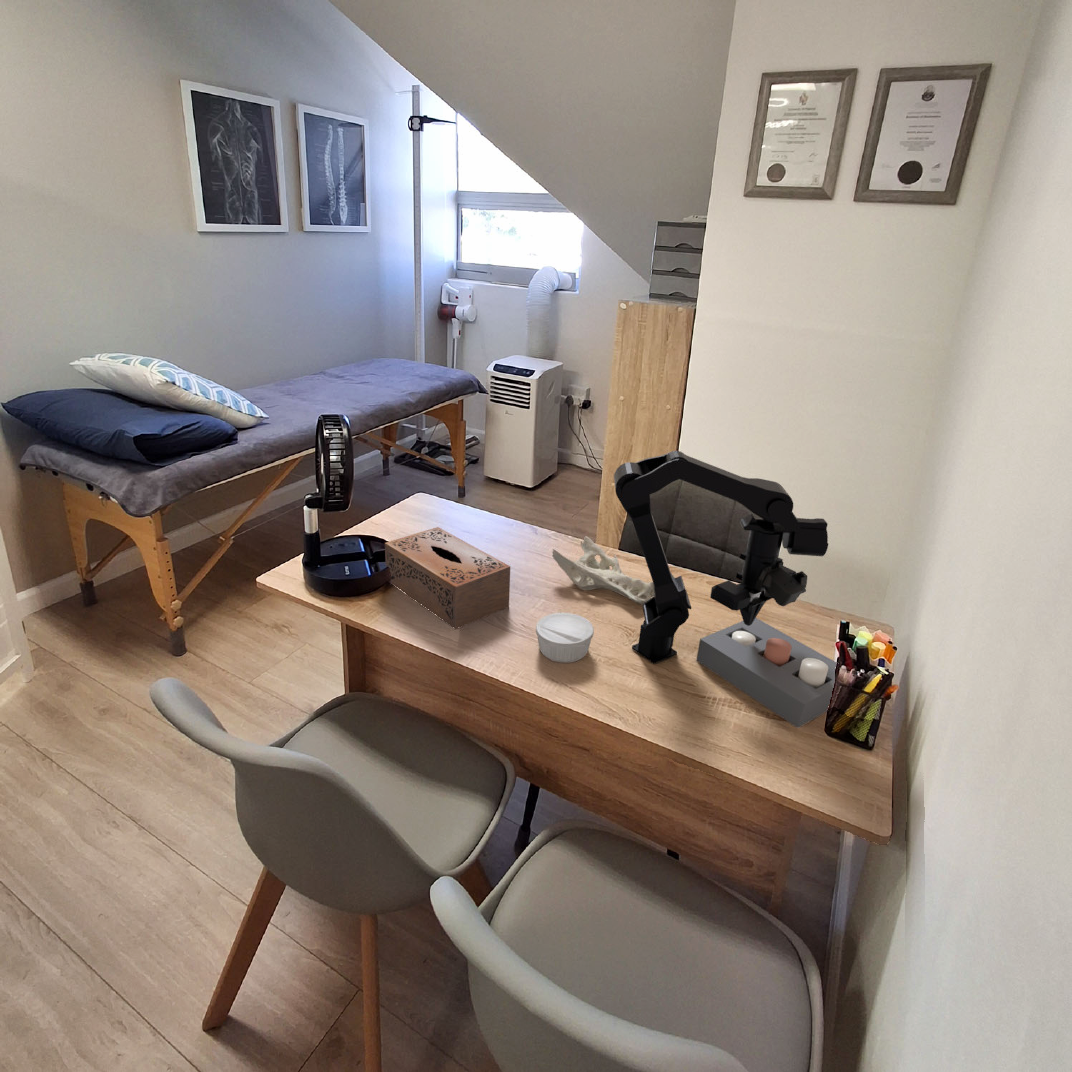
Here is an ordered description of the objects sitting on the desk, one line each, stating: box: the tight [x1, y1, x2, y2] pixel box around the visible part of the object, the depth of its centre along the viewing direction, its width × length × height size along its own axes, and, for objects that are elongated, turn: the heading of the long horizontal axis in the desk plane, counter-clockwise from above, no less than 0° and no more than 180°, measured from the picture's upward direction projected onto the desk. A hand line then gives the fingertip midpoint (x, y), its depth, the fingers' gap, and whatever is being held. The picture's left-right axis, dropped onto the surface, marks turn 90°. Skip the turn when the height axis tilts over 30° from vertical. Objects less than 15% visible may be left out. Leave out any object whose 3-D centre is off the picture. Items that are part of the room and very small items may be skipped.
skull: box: [551, 535, 654, 605], centre depth 155 cm, size 12×8×25 cm
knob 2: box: [797, 658, 828, 689], centre depth 120 cm, size 4×4×4 cm
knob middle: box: [762, 638, 792, 667], centre depth 126 cm, size 4×4×4 cm
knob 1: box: [732, 631, 756, 647], centre depth 132 cm, size 4×4×4 cm
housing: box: [696, 617, 838, 729], centre depth 127 cm, size 16×23×5 cm
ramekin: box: [535, 612, 595, 664], centre depth 132 cm, size 11×11×5 cm
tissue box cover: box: [384, 526, 511, 630], centre depth 149 cm, size 26×14×10 cm, turn 44°
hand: (747, 624), depth 130 cm, fingers closed
